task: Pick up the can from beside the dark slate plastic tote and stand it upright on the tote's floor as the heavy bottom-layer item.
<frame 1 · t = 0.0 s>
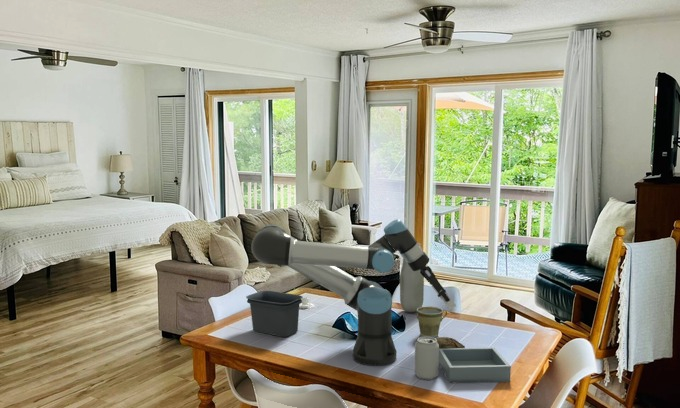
hand: (448, 302, 205), 15 cm above the table, tool tilted 35°, fingers open, 13 cm apart
can: (426, 376, 177), on the table
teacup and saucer: (299, 307, 253), on the table
ceramic cup: (432, 335, 215), on the table
storage bin: (276, 331, 220), on the table
bread roll: (447, 351, 199), on the table
tote: (472, 371, 179), on the table
gray bottle: (411, 312, 245), on the table
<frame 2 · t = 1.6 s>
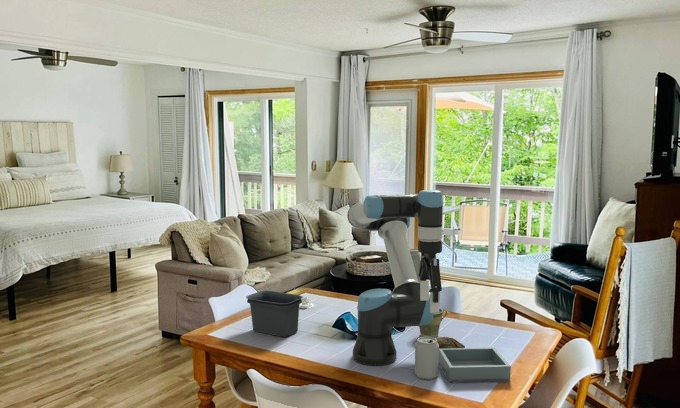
hand: (429, 306, 175), 23 cm above the table, tool pointing down, fingers open, 13 cm apart
nothing on the table moved.
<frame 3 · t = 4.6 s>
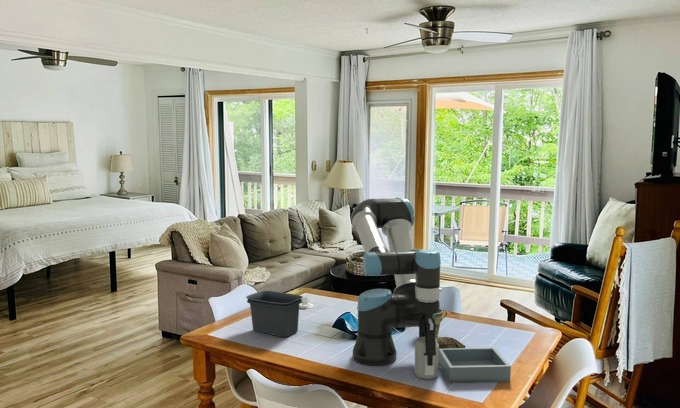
hand: (426, 369, 176), 2 cm above the table, tool pointing down, fingers closed on can, 7 cm apart
can: (426, 376, 177), on the table, touching gripper
everything else where it was.
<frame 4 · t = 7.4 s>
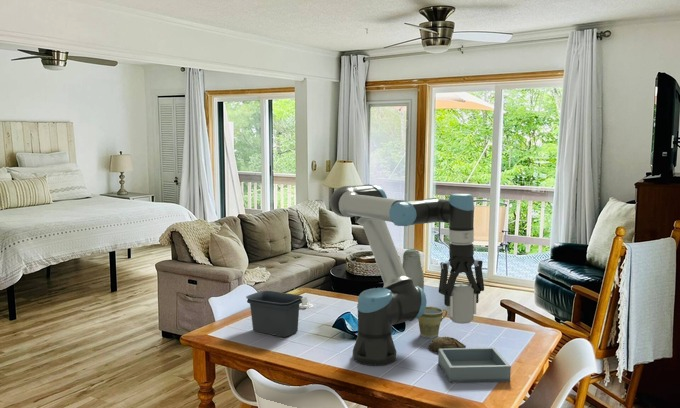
hand: (461, 314, 175), 20 cm above the table, tool pointing down, fingers closed on can, 7 cm apart
can: (461, 321, 176), point 17 cm above the table, touching gripper
everything else where it was.
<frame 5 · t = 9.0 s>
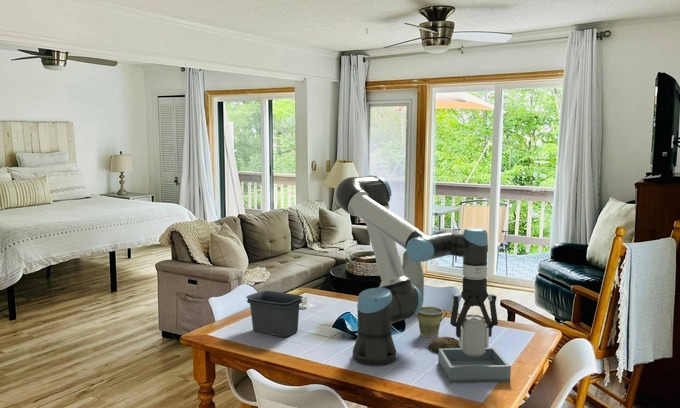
hand: (473, 346, 178), 9 cm above the table, tool pointing down, fingers closed on can, 7 cm apart
can: (473, 353, 178), point 6 cm above the table, touching gripper
everything else where it was.
when the fingers open (5 cm above the table, at t = 10.1 s): can drops 1 cm, resting on tote.
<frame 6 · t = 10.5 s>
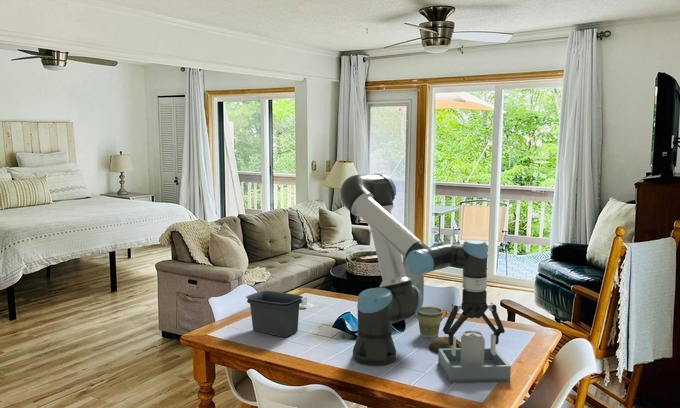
hand: (473, 354, 179), 6 cm above the table, tool pointing down, fingers open, 12 cm apart
can: (472, 369, 179), point 1 cm above the table, touching tote
everything else where it was.
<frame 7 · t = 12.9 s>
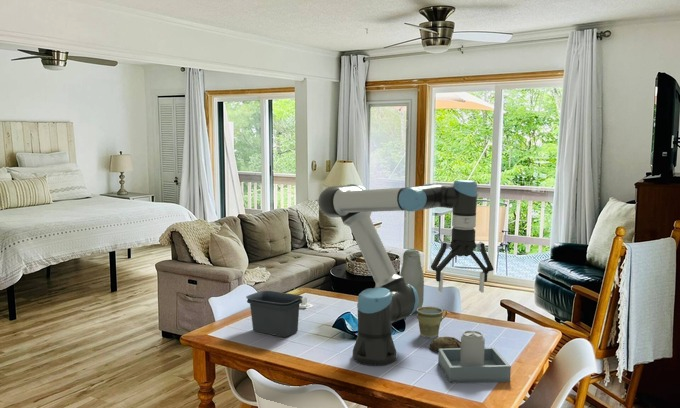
hand: (460, 291, 183), 25 cm above the table, tool pointing down, fingers open, 13 cm apart
nothing on the table moved.
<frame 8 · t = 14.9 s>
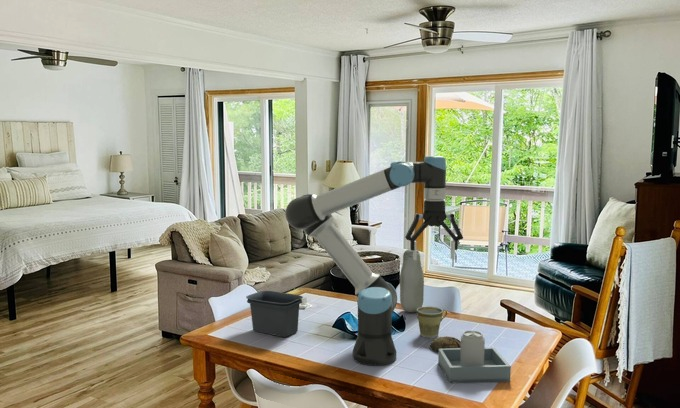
hand: (433, 259, 197), 33 cm above the table, tool pointing down, fingers open, 13 cm apart
at the end: can inside the target area on the tote (0.2 cm from its centre), point 0.8 cm above the tote's base; can tilted 0°; the gripper is holding nothing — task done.
